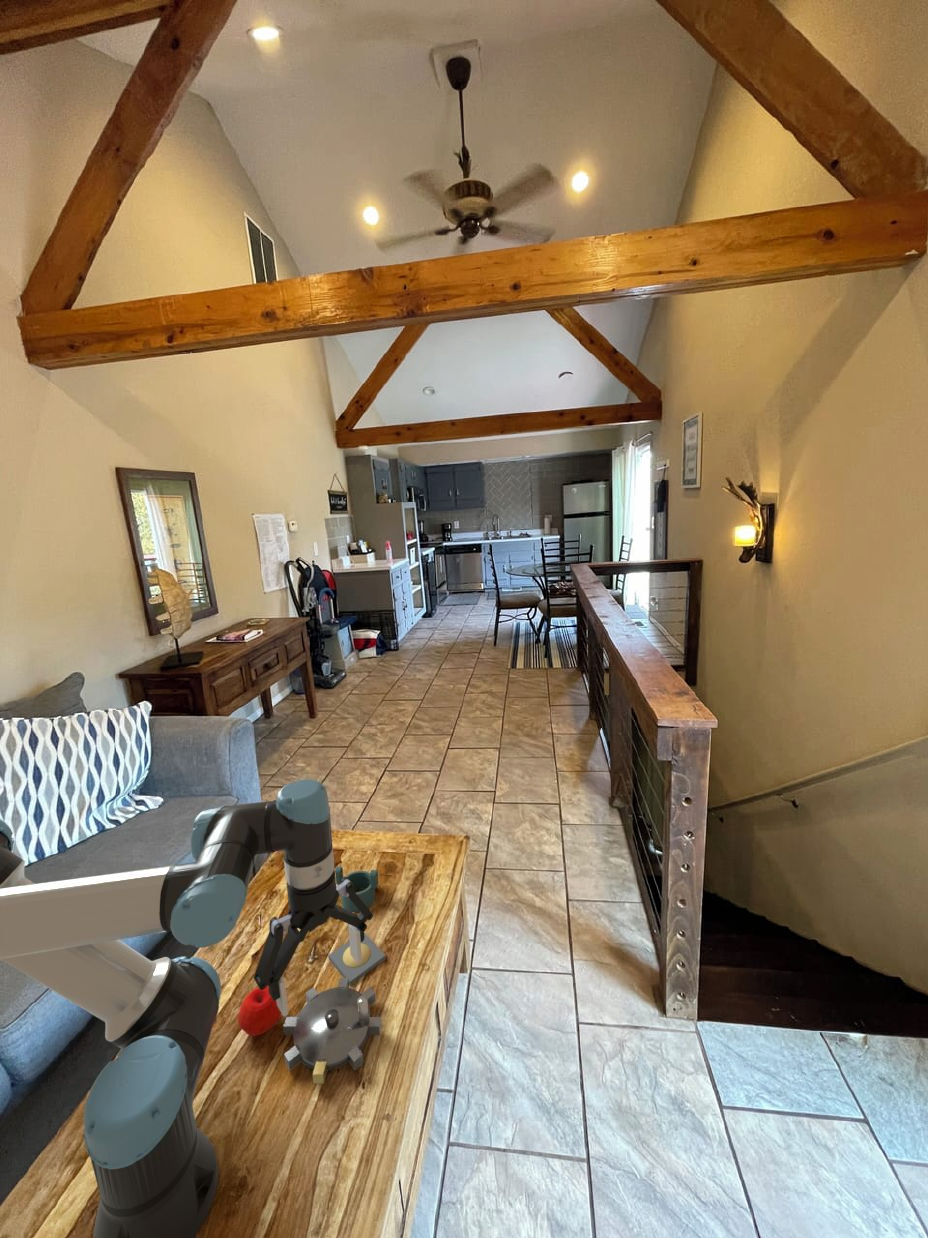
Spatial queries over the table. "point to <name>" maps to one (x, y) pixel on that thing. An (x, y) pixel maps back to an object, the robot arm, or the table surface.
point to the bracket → (359, 881)
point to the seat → (349, 966)
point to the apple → (258, 1012)
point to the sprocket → (331, 1030)
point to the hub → (331, 1018)
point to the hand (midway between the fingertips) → (321, 983)
